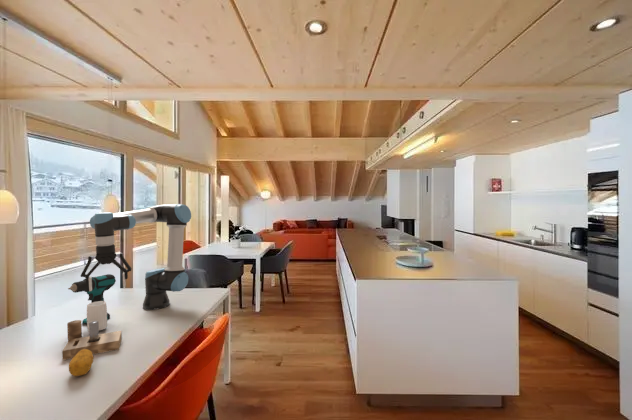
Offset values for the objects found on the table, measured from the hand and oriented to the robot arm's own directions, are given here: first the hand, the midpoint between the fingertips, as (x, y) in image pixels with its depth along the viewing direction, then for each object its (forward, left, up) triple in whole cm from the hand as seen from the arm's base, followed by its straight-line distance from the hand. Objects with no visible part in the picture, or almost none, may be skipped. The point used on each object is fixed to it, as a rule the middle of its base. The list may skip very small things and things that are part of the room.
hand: (108, 288), depth 149 cm
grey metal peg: (+5, +10, -24) cm, 27 cm away
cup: (+7, -13, -25) cm, 29 cm away
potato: (+6, +31, -25) cm, 40 cm away
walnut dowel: (+14, -1, -24) cm, 28 cm away
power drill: (+11, -28, -25) cm, 39 cm away
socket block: (+5, +10, -24) cm, 27 cm away
